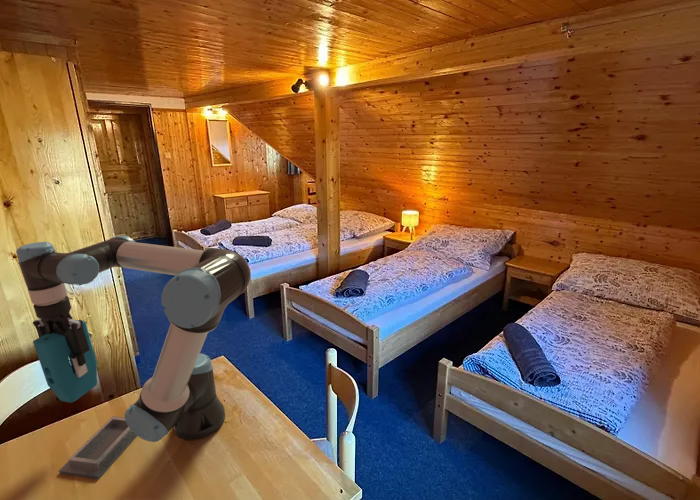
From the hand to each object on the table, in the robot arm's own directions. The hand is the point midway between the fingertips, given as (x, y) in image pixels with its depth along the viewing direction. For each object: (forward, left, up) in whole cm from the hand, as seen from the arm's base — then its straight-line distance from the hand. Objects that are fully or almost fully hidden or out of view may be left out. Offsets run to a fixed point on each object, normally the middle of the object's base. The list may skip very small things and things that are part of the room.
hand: (73, 373), depth 106 cm
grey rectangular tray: (-8, +3, -22) cm, 24 cm away
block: (0, 0, -6) cm, 6 cm away
